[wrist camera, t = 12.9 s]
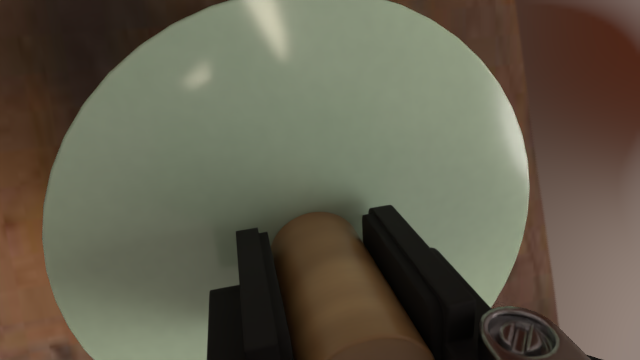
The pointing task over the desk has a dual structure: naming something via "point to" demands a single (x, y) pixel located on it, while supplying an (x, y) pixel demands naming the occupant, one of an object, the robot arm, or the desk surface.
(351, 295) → the lid
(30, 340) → the desk surface
